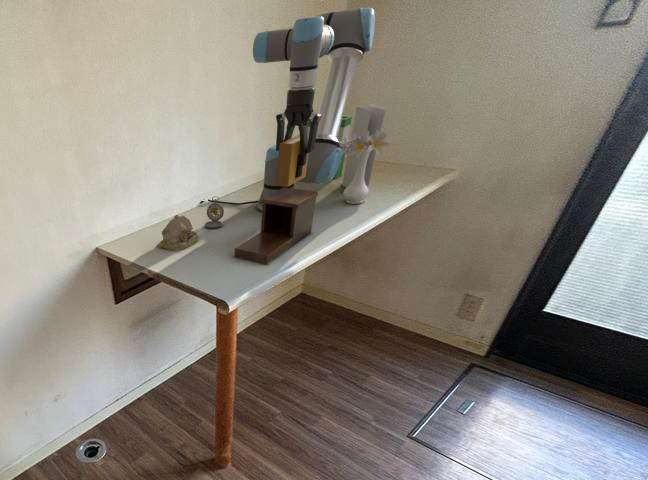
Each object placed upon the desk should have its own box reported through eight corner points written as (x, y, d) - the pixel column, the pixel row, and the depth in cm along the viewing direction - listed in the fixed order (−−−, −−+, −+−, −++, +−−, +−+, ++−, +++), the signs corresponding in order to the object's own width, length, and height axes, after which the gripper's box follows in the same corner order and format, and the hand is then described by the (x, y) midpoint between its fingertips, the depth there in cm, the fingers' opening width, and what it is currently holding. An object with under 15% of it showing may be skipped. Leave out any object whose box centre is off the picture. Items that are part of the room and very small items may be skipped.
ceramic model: (172, 253, 144) (171, 224, 138) (153, 245, 151) (151, 217, 145) (203, 241, 150) (202, 213, 143) (183, 233, 157) (182, 206, 151)
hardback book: (298, 176, 202) (305, 119, 187) (305, 172, 206) (312, 116, 191) (335, 179, 192) (345, 119, 177) (341, 175, 196) (352, 116, 181)
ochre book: (275, 185, 132) (279, 143, 124) (294, 175, 138) (298, 134, 130) (287, 187, 129) (292, 144, 122) (305, 176, 136) (311, 135, 128)
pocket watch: (208, 230, 157) (208, 203, 151) (200, 223, 164) (200, 197, 157) (228, 226, 158) (229, 199, 152) (219, 220, 165) (220, 193, 159)
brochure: (367, 192, 173) (386, 108, 154) (353, 193, 174) (371, 110, 155) (354, 183, 184) (371, 104, 166) (342, 184, 185) (356, 105, 166)
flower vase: (338, 194, 175) (351, 126, 160) (382, 201, 164) (401, 128, 148) (322, 202, 169) (333, 133, 154) (366, 210, 158) (383, 136, 142)
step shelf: (233, 256, 137) (235, 213, 128) (279, 227, 153) (283, 187, 144) (267, 264, 130) (271, 220, 121) (311, 233, 146) (318, 191, 137)
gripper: (267, 90, 121) (261, 176, 136) (324, 89, 111) (311, 181, 126) (280, 86, 125) (273, 170, 139) (336, 85, 115) (322, 175, 130)
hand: (291, 175), depth 133 cm, fingers closed on ochre book, 4 cm apart
